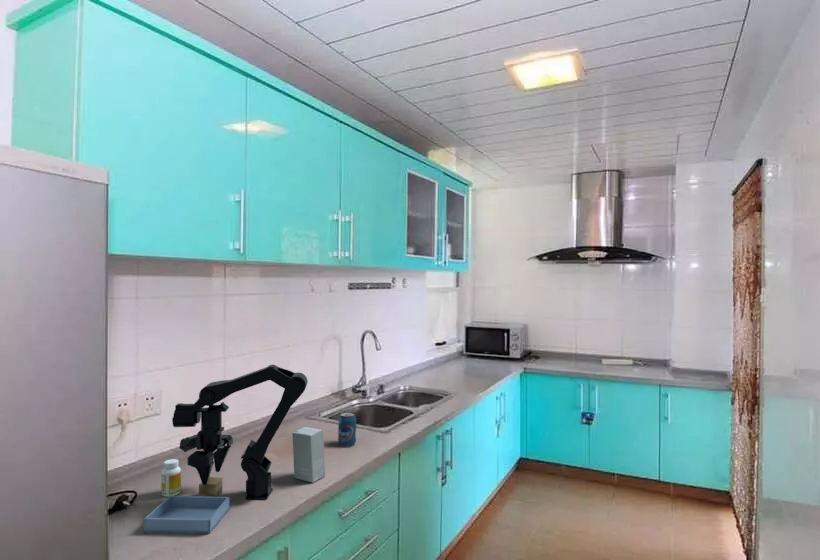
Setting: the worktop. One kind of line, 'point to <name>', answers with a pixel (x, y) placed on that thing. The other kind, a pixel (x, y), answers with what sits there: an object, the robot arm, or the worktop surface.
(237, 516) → the worktop surface
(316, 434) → the skincare box
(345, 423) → the soda can
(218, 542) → the worktop surface
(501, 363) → the worktop surface
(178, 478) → the supplement bottle
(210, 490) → the cube
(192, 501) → the tote
